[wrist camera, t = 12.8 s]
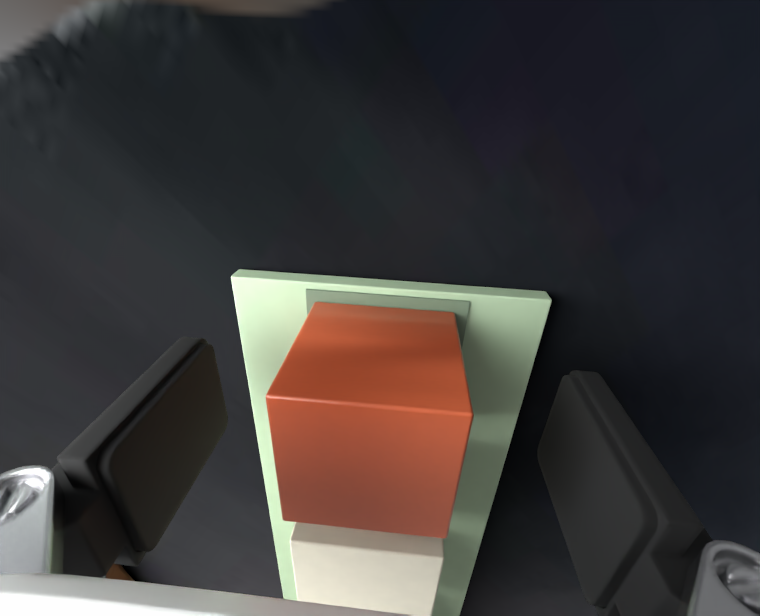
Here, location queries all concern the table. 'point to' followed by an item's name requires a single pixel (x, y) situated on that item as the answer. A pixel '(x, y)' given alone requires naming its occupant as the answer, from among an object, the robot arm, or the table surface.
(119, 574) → the plant
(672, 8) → the table surface
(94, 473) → the robot arm
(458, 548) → the word board
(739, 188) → the table surface
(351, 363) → the orange wooden cube
